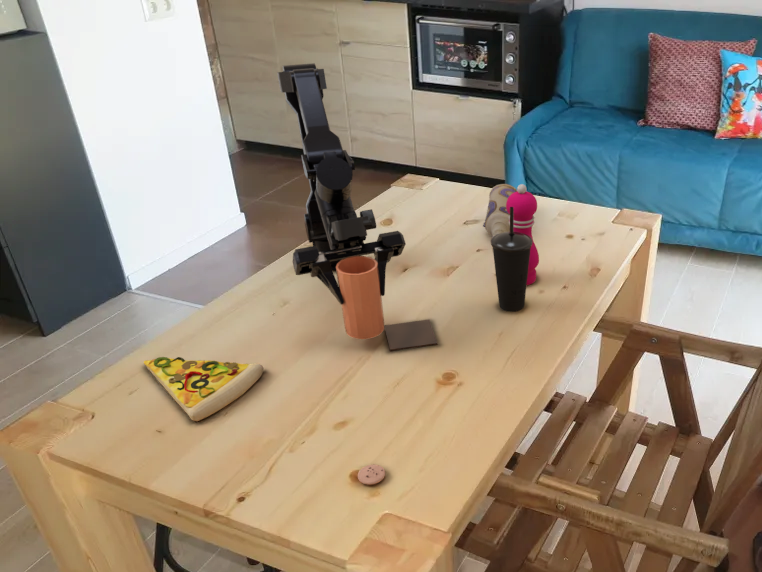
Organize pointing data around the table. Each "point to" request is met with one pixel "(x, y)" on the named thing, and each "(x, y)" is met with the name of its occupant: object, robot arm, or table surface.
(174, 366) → the pizza slice
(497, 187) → the decorative bottle
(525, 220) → the pepper mill
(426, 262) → the table surface
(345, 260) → the peach cup
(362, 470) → the cookie
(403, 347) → the walnut coaster
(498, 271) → the drinking cup
